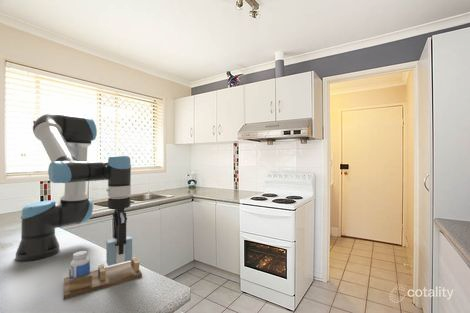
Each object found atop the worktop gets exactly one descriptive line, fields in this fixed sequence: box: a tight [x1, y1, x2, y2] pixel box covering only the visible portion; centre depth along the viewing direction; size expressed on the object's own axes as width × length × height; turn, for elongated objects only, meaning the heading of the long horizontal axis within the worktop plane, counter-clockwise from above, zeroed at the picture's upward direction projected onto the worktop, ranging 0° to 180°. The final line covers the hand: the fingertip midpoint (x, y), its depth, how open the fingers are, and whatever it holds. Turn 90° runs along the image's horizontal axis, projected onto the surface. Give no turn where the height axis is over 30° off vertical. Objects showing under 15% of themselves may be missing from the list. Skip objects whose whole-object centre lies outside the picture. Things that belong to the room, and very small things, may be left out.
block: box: [106, 235, 133, 267], centre depth 86 cm, size 4×8×8 cm, turn 126°
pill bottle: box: [70, 250, 91, 279], centre depth 79 cm, size 6×5×10 cm
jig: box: [63, 256, 143, 300], centre depth 83 cm, size 13×23×4 cm, turn 126°
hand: (119, 260), depth 86 cm, fingers closed on block, 4 cm apart
